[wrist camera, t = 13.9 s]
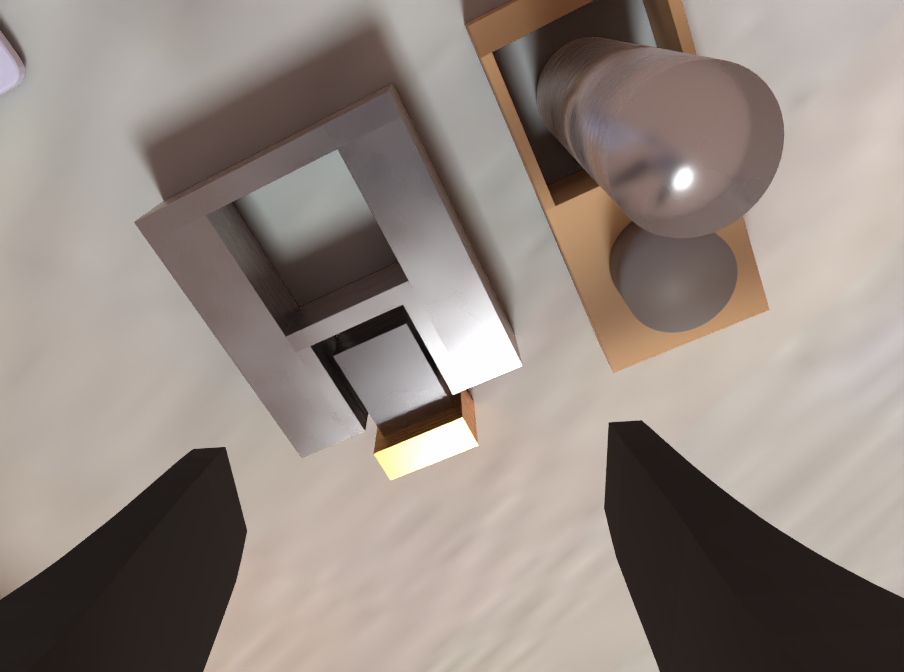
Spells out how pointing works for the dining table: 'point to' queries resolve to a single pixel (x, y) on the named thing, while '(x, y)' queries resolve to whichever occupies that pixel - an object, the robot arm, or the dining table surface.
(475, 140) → the dining table surface
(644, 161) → the metallic rounded cylinder
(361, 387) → the drift key
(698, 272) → the frame
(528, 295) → the dining table surface
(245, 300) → the socket block
